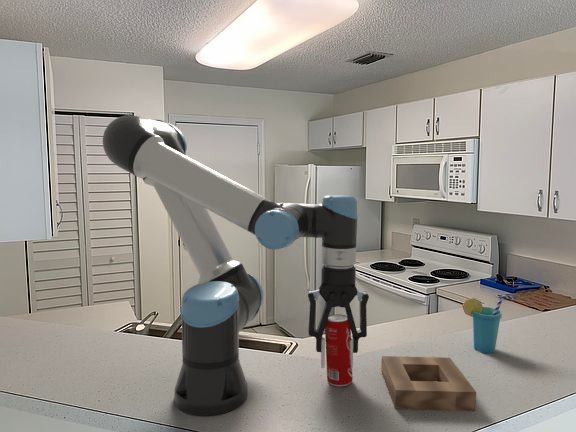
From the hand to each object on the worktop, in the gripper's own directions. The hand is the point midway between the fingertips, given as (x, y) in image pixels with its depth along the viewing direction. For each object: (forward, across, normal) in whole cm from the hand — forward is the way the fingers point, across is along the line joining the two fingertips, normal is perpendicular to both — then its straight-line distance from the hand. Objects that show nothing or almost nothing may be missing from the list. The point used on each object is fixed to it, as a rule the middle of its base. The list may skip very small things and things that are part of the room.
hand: (336, 365), depth 100 cm
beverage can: (+4, 0, 0) cm, 4 cm away
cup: (+4, +42, +20) cm, 47 cm away
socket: (+4, +19, -3) cm, 20 cm away
